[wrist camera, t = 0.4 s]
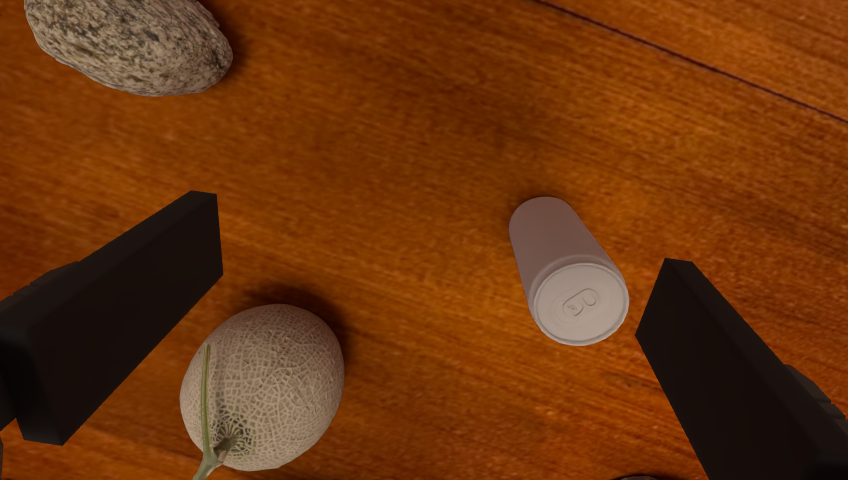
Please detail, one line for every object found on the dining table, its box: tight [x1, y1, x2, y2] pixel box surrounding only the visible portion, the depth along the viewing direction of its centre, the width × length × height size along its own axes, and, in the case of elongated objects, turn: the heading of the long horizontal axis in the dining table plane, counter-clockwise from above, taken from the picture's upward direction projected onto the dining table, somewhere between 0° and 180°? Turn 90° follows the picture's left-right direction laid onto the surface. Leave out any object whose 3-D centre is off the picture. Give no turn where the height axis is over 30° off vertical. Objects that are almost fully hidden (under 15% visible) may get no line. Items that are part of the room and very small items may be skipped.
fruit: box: [180, 304, 344, 480], centre depth 32 cm, size 10×12×15 cm
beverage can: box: [509, 197, 629, 346], centre depth 28 cm, size 5×5×12 cm
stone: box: [24, 0, 233, 97], centre depth 26 cm, size 6×10×10 cm, turn 51°
